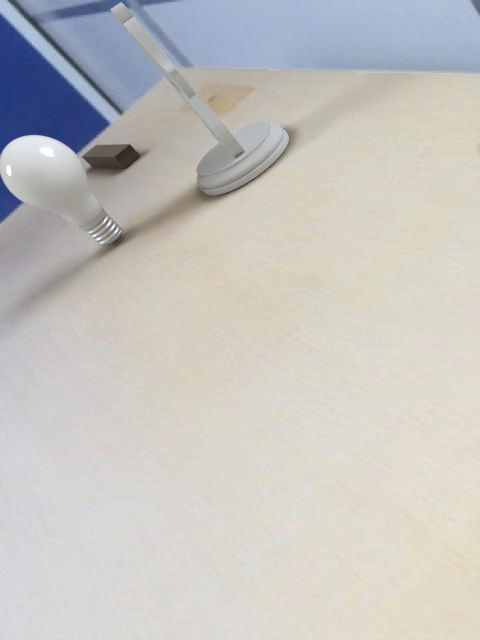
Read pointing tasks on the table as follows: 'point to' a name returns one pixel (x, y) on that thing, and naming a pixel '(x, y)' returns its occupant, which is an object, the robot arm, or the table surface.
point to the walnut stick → (111, 156)
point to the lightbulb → (56, 185)
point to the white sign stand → (214, 125)
